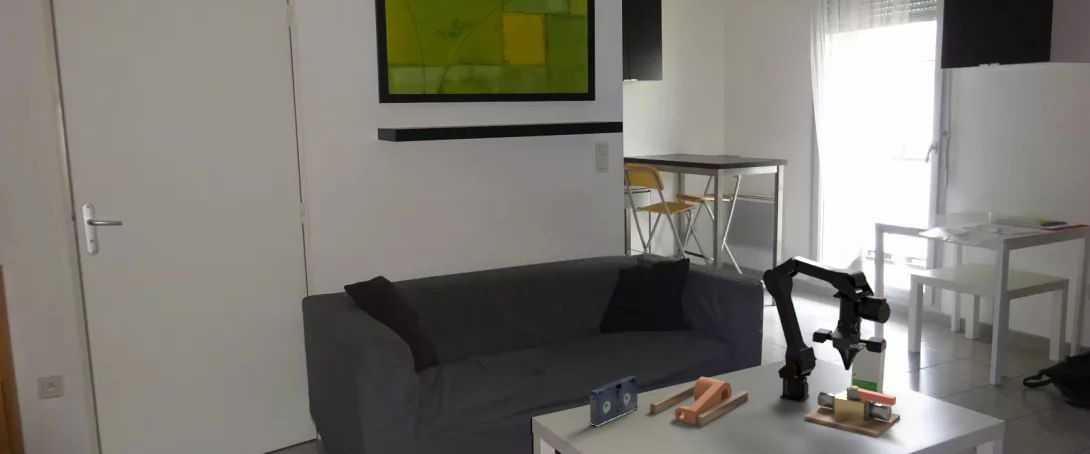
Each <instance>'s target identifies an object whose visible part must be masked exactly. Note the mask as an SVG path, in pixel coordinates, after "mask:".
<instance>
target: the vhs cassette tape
mask: <svg viewBox="0 0 1090 454" xmlns="http://www.w3.org/2000/svg"><path fill="white" fill-rule="evenodd" d="M634 408H635V409H636V408H637V409H638V376H635V375H632V374H631V375H629V376H626V377H623V378H620V379H617V380H615V381H613V382H610V383H607V384H604V385H602V386H601V387H597V388H594V389H591V390H589V409H590V411H589V414H590V416H589V418H590V421H589V422H590V424H591V423H592V424H594V425H599V424H601V423H603V422H605V421H608V420H610V419H612V418H615V417H617V416H619V415H622V414H624V413H627V412H629V411H631V410H633V409H634Z"/></svg>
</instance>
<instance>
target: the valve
mask: <svg viewBox="0 0 1090 454" xmlns="http://www.w3.org/2000/svg"><path fill="white" fill-rule="evenodd" d="M846 394H847V390H844V391H838V392H837V393H835V394H834V393H830V392H825V391H820V392H819V394H818V396H817V405H818V407H819V406H823V407H828V408H832V409H833V410H832V413H834V415H837V416H841V417H846V418H850V419H854V420H859V421H865V420H867V421H869V420H870V419H872V418H877V419H881V420H885V421H889V420H890V418H891V413H893V412H892V410H893V409H892V406H891V405H887V404H883V403H878V402H874V401H870V400H866V399H861V398H859V399H854V398H849V397H847V396H846Z"/></svg>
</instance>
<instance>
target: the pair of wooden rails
mask: <svg viewBox="0 0 1090 454" xmlns="http://www.w3.org/2000/svg"><path fill="white" fill-rule="evenodd" d="M696 382H697V380H696V381H694V382H693V383H690V384H688V385H687V386H683V387H682V388H680V389H678V390H675V391H673V392H672V393H670V394H667V395H665V396H663V397H661V398H659V399H657V400H655V401H653V402H651V403H650V406H649V407H650V408H649V409H650V410H649V411H652V412H655V413H654V414H656V413H657V412H659V411H661V410H663V409H664V410H666V409H668V408H670V407H672V406H675V405H676V404H678V403H680V402H682V401H685V400H686V399H688V398H690V397H692V396H694V387H695V384H696ZM747 401H749V392H748V391H745V390H741V391H738V392H737V393H735V394H732V395H731V397H729V398H727V399H726V400H724V401H722V402H720V403H718V404H716V405H715V406H713V407H711V408H709V409H707V410H705V411H703V412H702V413H700V414H698V415H696V425H695V426H697V425H698V426H701V427H702V426H705V425H707V424H708V423H710V422H712V421H714V420H716V419H717V418H719V417H721V416H722V415H724V414H726V413H728V412H729V411H731V410H733V409H734V408H737V407H739V406H740V405H742V404H744V403H745V402H747ZM671 405H672V406H671ZM669 406H670V407H669ZM665 408H666V409H665ZM664 410H663V411H664ZM652 412H651V413H652ZM661 412H662V411H661ZM659 413H660V412H659ZM657 414H658V413H657Z"/></svg>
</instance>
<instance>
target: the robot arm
mask: <svg viewBox="0 0 1090 454" xmlns="http://www.w3.org/2000/svg"><path fill="white" fill-rule="evenodd" d="M799 273H800V274H803V275H805V276H809V277H811V278H813V279H817V280H820V281H823V282H826V283H829V284H830V285H831V286H832V287H833V288H834V289H836V290H838V291H837V292H835V293H834V294H833V295H832V297H833V298H834V299H839V310H838V311H839V312H838V313H839V314H838V316H839V317H838V320H837V323H836V324H837V325H836V328H835V329H834V331H833V330H832V329H828V328H827V329H826V328H822V327H821V328H819V329H817V330H815V331H814V332H813V333H812V339H811V340H812V342H813V343H819V344H824V343H825V342H826V341H831V343H832V348H833V349H836V350H837V352H838V353H839V355H840V357H841V361H842V363H843V364H842V365H843V367H844V370H845V371H850V369H851V368H852V363H853V360H854V358H855V356H856V354H857V353H858V352H860V351H861V350H862V349H864V347H865V346H866V349H867V350H868V351H870V352H876V353H882V352H883V351H884V350H885V349H887V340H886V339H885V337H877V336H871V337H869V338H863V339H861V338H862V337H861V336H862V332H861V329H862V327H861V326H862V323H863V322H862V321H863V320H866V321H870V322H874V323H877V324H882V325H883V324H886V323H887V322H888V320H889V319H890V316H891V308H890V304H889V303H888V302H887V298H886V297H883V296H882V297H878V296H875V293H874V291H873V288H872V287H871V286H870V284H869V282H868V279H867V277H866V274H865V273H864V272H863V271H862V270H859V269H851V268H836V267H833V266H830V265H827V264H824V263H821V262H818V261H814V260H811V259H808V258H805V257H803V256H801V255H800V256H799V255H797V256H793V257H789V258H788V259H787V260H786V261H784V262H783V263H782V262H781V263H780V264H779V265H777V266H775V267H773V268H768V269H766V270H765V271H764V273H763V275H762V282H763V284H764V287H765V289H766V291H767V292H768V294H769V295H770V296H771V297H772V298H773V299H774V303H775V306H776V310H777V314H778V318H779V321H780V324H781V325H780V326H781V328H782V331H783V337H784V340H785V343H786V349H785V354H784V360H785V365H783V366H782V367H781V368H780V369H779V370H778V371H777V373H778V377H779V379H782V394H781V393H780V395H779V397H780V398H783V399H786V400H787V399H788V400H792V401H795V402H802V401H803V400H804V399H807V398H809V397H810V394H809V382H808V377H810V376H811V374H812V372H813V370H815V368H816V366H817V362H816V361H817V360H818V359H817V357H816V355H815V350H814V347H813V346H810V347H809V346H808V345H807V344H806V343H805V342H804V339H803V335H802V332H801V326H800V323H799V321H798V320H799V319H798V317H797V311H796V310H795V305H794V302H793V298H792V291H793V286H794V282H793V278H795V277H796V276H797V275H799ZM867 339H868V340H867ZM885 351H886V350H885Z"/></svg>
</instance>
